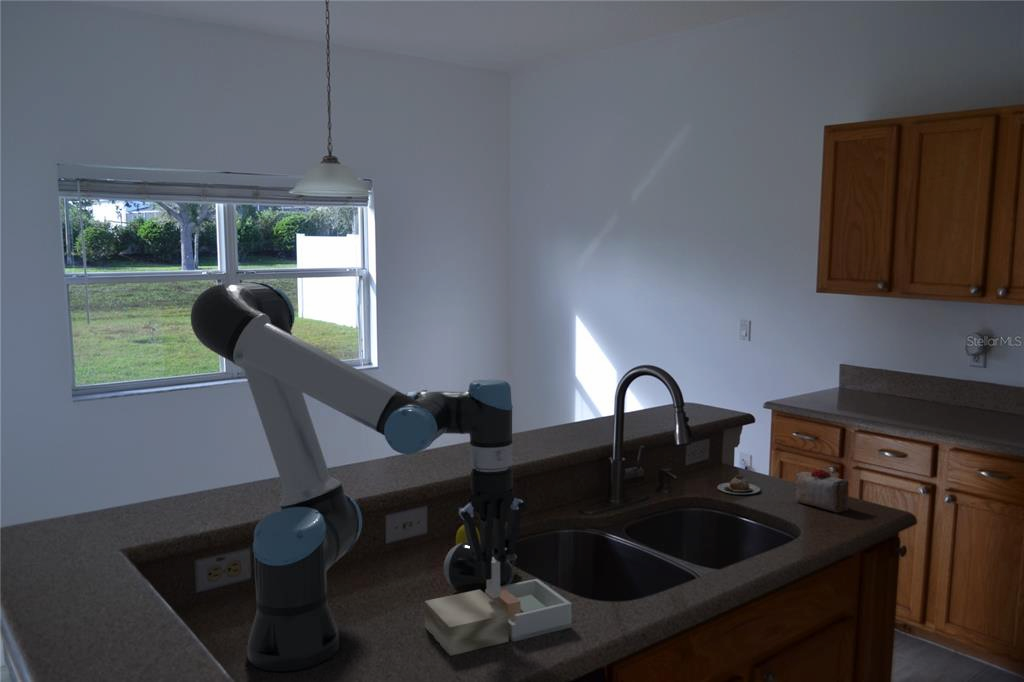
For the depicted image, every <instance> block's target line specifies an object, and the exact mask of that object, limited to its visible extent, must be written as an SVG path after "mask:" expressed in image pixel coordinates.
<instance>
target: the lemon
mask: <svg viewBox="0 0 1024 682" xmlns="http://www.w3.org/2000/svg"><path fill="white" fill-rule="evenodd" d="M476 531H477V535H478V539H479V543H480V530H479V529H478V527H476ZM467 541H468V539H467V535H466V531H465V528H464V524H463V525H461V526H460V527H459V528H458V530H457V532H456V535H455V546H456V545H458V544H461V543H464V542H467Z"/></svg>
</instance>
